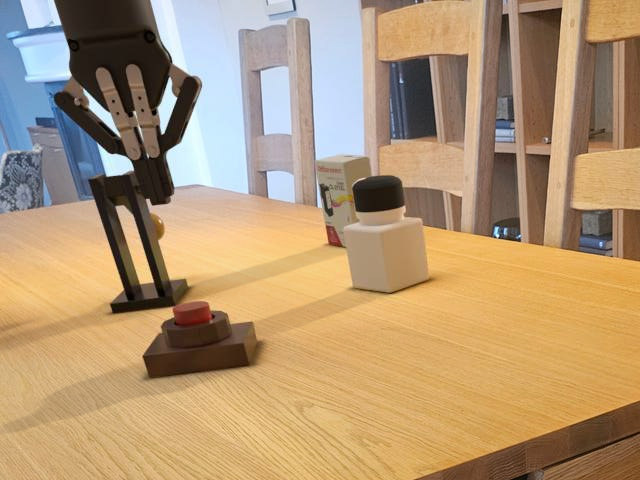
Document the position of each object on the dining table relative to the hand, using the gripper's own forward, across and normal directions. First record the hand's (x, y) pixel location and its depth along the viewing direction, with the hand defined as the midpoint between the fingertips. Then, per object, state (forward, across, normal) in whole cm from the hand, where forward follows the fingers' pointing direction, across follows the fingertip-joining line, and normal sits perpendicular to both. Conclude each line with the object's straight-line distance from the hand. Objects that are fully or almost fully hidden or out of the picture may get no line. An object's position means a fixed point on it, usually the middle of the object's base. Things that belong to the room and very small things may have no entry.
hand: (161, 203), depth 77 cm
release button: (+11, 0, 0) cm, 11 cm away
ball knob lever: (+6, +12, -36) cm, 38 cm away
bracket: (+14, +12, -31) cm, 36 cm away
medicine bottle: (+15, -20, -23) cm, 34 cm away
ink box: (+15, -15, -53) cm, 57 cm away
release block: (+14, 0, 0) cm, 15 cm away
